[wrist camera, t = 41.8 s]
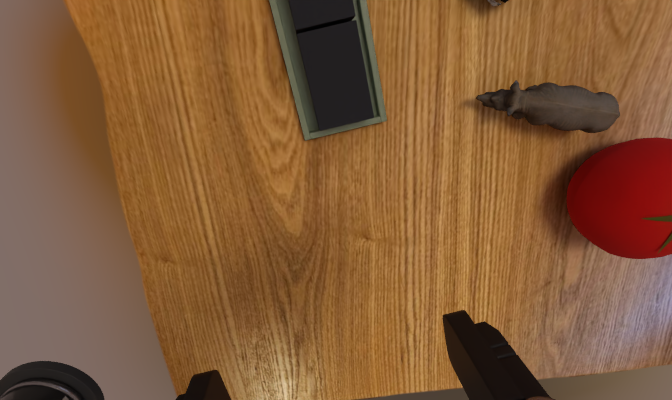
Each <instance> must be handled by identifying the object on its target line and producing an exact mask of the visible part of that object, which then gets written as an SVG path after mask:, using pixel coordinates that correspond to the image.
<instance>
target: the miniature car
mask: <svg viewBox="0 0 672 400" xmlns="http://www.w3.org/2000/svg"><path fill="white" fill-rule="evenodd" d="M487 1H488V2H489V3H490V4H491V5H492V6H499V5H501V4H499V3H496V2H495V1H494V0H487ZM501 1H502V2H504V3H505V2H507V1H508V0H501Z"/></svg>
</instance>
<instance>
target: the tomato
mask: <svg viewBox="0 0 672 400" xmlns="http://www.w3.org/2000/svg"><path fill="white" fill-rule="evenodd" d="M567 210H568V213H569V215H570V218H571V220H572V223H573V225H574V226H575V227H576V229H577V230H578V231H579V232H580V233H581V234H582V235H583V236H584V237H586V238H587V239H588V240H589V241H590V242H592V243H593V244H595V245H596V246H598V247H599V248H601V249H603V250H604V251H606V252H608V253H610V254H613V255H616V256H620V257H625V258H632V259H646V258H656V257H663V256H666V255H670V254H672V139H666V138H643V139H634V140H630V141H626V142H622V143H618V144H615V145H612V146H610V147H607V148H605V149H603V150H601V151H599V152H597V153H596V154H594V155H592V156H591V157H590V158H588V159H587V160H586V161H585V162H584V163H583V164H582V165H581V166H580V167H579V168H578V170H577V171H576V172H575V174H574V175H573V177H572V179H571V180H570V183H569V186H568V189H567Z"/></svg>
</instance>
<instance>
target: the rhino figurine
mask: <svg viewBox="0 0 672 400" xmlns="http://www.w3.org/2000/svg"><path fill="white" fill-rule="evenodd" d="M476 99H478V100H480V101H481V102H482V103H483V106H486V107H491V108H494V109H496V110H499V111H507V115H508V116H510V115H511V114H512V116H513V117H514V118H515V119H517V120H519V119H522V118H524V117H525V118H526V120H527V121H528V122H529V123H530V124H532V125H543V124H548V125H550V126H551V127H553V128H556V129H559V130H564V131H574V130H582V131H584V132H588V133H596V132H601V131H604V130H607V129H608V128H609V127H610V126H611V125H612V124H613V123H614V122H615V121H616V119H617V118H618V117H619V116H620V112H619V105H618V102H617V100H616V98H615V97H614V96H612V95H611V94H608V93H605V92H598V93H593V92H591V91H589V90H587V89H585V88H582V87H579V86H572V85H571V86H558V85H556V84H554V83H543V84H540V85H538V86H537V85H534V86H531V87H528V88H527V89H526V91H525V90H520V88H519V83H518V82H517V81H515V82H514V83H513V84H512V86H511V87H510V90H504V89H500V90H498V91H496V92H486V93H485V94H483V95H478V96H477V97H476Z"/></svg>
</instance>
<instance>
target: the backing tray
mask: <svg viewBox="0 0 672 400" xmlns="http://www.w3.org/2000/svg"><path fill="white" fill-rule="evenodd" d="M269 2H270V6H271V10H272V14H273V18H274V22H275V25H276V29H277V33H278V37H279V41H280V45H281V49H282V53H283V57H284V61H285V64H286V68H287V72H288V76H289V80H290V84H291V88H292V92H293V96H294V100H295V104H296V107H297V111H298V115H299V119H300V123H301V127H302V131H303V135H304V139H305V140H310V139H314V138H318V137H322V136H326V135H330V134H334V133H339V132H343V131H347V130H351V129H355V128H359V127H364V126H368V125H372V124H376V123H380V122H384V121H387V118H386V112H385V106H384V100H383V94H382V89H381V83H380V77H379V71H378V65H377V60H376V54H375V48H374V42H373V36H372V31H371V25H370V19H369V13H368V7H367V2H366V0H353V3H354V9H355V14H356V16H355V17H354V18H353V20H356V21H357V26H358V31H359V37H360V42H361V47H362V53H363V58H364V64H365V69H366V75H367V80H368V85H369V91H370V96H371V102H372V107H373V112H374V118H372V119H368V120H364V121H360V122H355V123H351V124H347V125H343V126H339V127H335V128H330V129H326V130H322V131H320V130H319V127H318V123H317V119H316V115H315V110H314V106H313V102H312V98H311V94H310V90H309V85H308V81H307V77H306V73H305V69H304V65H303V60H302V56H301V52H300V48H299V44H298V39H297V35H296V31H295V27H294V22H293V18H292V14H291V10H290V6H289V2H288V0H269ZM353 20H352V21H353Z"/></svg>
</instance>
